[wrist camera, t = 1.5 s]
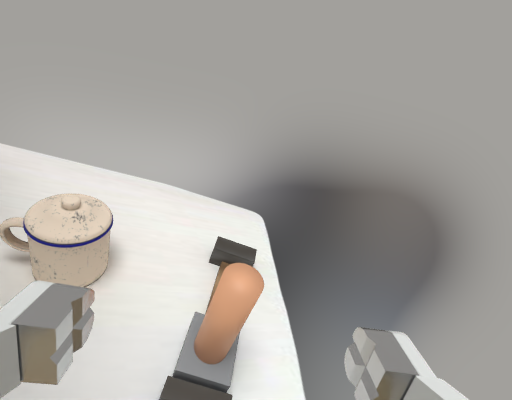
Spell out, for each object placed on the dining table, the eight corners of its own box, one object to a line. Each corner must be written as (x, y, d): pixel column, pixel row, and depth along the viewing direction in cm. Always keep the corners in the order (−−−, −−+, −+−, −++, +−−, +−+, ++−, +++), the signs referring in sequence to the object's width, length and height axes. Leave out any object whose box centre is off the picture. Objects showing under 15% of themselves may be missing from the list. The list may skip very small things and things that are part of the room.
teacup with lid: (115, 245, 44) (121, 184, 38) (100, 295, 37) (104, 230, 30) (23, 235, 40) (13, 165, 34) (-15, 289, 33) (-37, 213, 26)
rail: (219, 430, 29) (228, 417, 28) (154, 411, 29) (160, 397, 27) (250, 262, 50) (256, 249, 49) (213, 250, 50) (218, 236, 48)
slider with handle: (220, 401, 31) (271, 323, 23) (169, 385, 31) (201, 300, 23) (232, 341, 37) (275, 263, 29) (189, 328, 37) (221, 244, 29)
